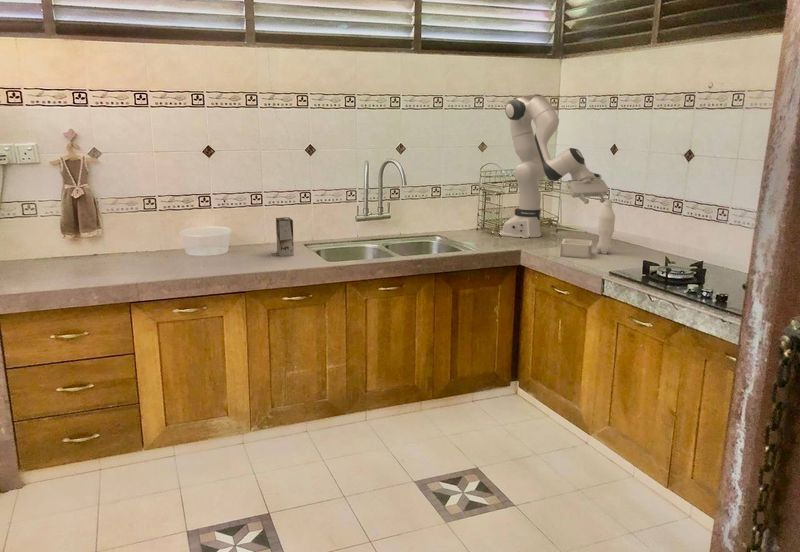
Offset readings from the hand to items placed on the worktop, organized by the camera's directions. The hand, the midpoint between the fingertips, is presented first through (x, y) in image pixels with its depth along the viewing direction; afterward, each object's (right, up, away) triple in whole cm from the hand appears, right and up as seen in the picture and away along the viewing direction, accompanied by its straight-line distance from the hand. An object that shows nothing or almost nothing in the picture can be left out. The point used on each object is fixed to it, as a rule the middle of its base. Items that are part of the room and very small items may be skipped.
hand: (595, 202), depth 302 cm
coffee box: (-144, -25, -11) cm, 146 cm away
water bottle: (+4, -24, -2) cm, 24 cm away
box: (-11, -25, -6) cm, 28 cm away
